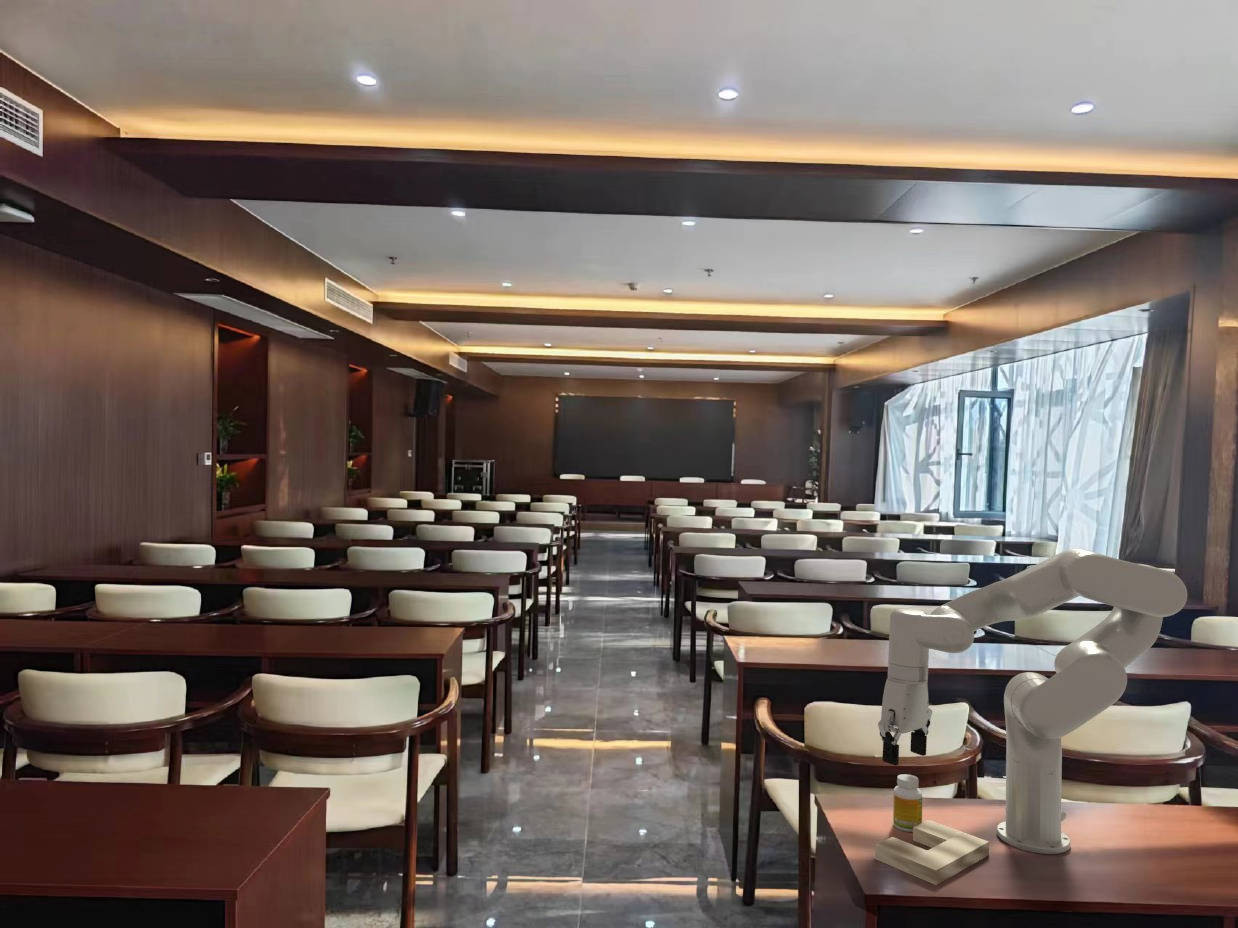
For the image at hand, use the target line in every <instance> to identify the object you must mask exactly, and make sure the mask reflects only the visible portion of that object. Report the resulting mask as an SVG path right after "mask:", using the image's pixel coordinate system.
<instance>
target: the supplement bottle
mask: <svg viewBox="0 0 1238 928" xmlns="http://www.w3.org/2000/svg"><path fill="white" fill-rule="evenodd" d="M896 779H897V780H896V783H897V785H896V786H895V787H894V788H893V800H892V801H893V804H892V805H893V811H892V813H893V814H892V824H893V826H894V827H895V828H896V829H897V830H900V831H902V832H906V833H907V832H908V833H913V827H914V826H916V825H919V824H921V823H923V793H922V790H921V789H920V788H919V778H918V777H917V776H916V775H912V774H906V773H905V774H898V775H897V778H896Z"/></svg>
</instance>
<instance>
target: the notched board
mask: <svg viewBox="0 0 1238 928" xmlns="http://www.w3.org/2000/svg"><path fill="white" fill-rule="evenodd" d="M912 841H914V842H916V843H918V844H921V845H923V846H926V847H928V848H929V849H928V850H927V849H924V848H922V847H919V846H917V845H914V844H911V843H909V842H907V841H904V840H902V839H900V838H897V837H894V836H891V837H889V838H886V839H885V840H883V841H880V842H878V843H877V844H875V845H874V860H877V861H879V862H880V863H881V862H882V863H883V864H886V865H887V866H888V865H889V866H890V867H893V868H895V869H898V870H900V871H902V872H904V873H906V874H909V875H911V876H913V877H916V878H919V879H920V880H923V881H925V882H928V883H930V884H932V885H935V886H937V885H939V884H941V883H942V882H945V881H946V880H948V879H949V878H951V877H954V876H956V874H958V873H960V872H962V871H963V870H965V869H967V868H969V867H971V866H972V865H974V864H976V863H978V862H979V860H980V861H982V860H983V859H985V858H987V857H989V856H990V841H989V840H986V839H983V838H980V837H977V836H975V835H972V834H969V833H966V832H965V831H961V830H958V829H956V828H953V827H950V826H947V825H944V824H941V823H939V822H936V821H933V820H930V819H927V820H925V821H922V823H921V824H919V825H916V826H914V827H913V832H912ZM988 855H989V856H988ZM986 856H987V857H986Z"/></svg>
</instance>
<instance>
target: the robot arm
mask: <svg viewBox="0 0 1238 928" xmlns="http://www.w3.org/2000/svg"><path fill="white" fill-rule="evenodd" d="M1078 597H1082V598H1084V599H1087V600H1090V601H1093V602H1097V603H1100V604H1104V605H1107V606H1112V607H1113V608H1112V609H1111V611H1110V613H1109V614H1108V615H1107V616H1106V617H1105V618H1104V619H1103V620H1102V621H1100V622H1099V623H1098V624H1097V625H1096V626H1094V627H1093V628H1091V629H1090V630H1088V631H1086V632H1085V633H1083V634H1082V635H1081V636H1079V637H1078V638H1077V639H1075V640H1073V641H1072V642H1071V643H1069V644H1067V645H1066V646H1064V647H1063V648H1062V649H1060V650H1059V652H1058V653H1057V654H1056V656H1055V658H1054V661H1053V663H1054V666H1053V667H1054V671H1055V672H1056V673H1055V674H1054V675H1051V677H1049V678H1048V677H1046V676H1045V675H1042V674H1040V673H1037V672H1033V671H1032V672H1031V671H1029V672H1028V671H1026V672H1022V673H1018V674H1017V675H1015V676H1013V677H1012V678H1011V679H1010V680H1009V682H1008V683H1007V684H1006V686H1005V690H1004V693H1003V694H1004V695H1003V706H1004V707H1003V708H1004V716H1005V717H1004V719H1005V737H1006V739H1005V740H1006V743H1005V744H1006V749H1005V751H1006V754H1005V820H1004V821H1002V822H1000V823H998V825H997V826H996V834H997V836H998V837H999V839H1001V841H1002V842H1004V843H1006V844H1008V845H1010V846H1012V847H1013V848H1017V849H1019V850H1023V851H1025V852H1030V853H1035V854H1037V853H1038V854H1042V855H1043V854H1045V855H1055V854H1056V855H1057V854H1062V853H1065V852H1067V851H1069V849H1070V848H1071V839H1070V837H1069V836H1068V835H1067V834H1066V833H1064V832H1063V831H1062V822H1063V821H1064V820H1066V818H1067V814H1066V811H1064V810H1062V775H1063V774H1062V768H1063V767H1062V763H1063V748H1062V747H1063V745H1062V738H1063V737H1065V736H1067V735H1069V734H1071V733H1073V732H1074V731H1075V730H1077V729H1079V728H1080V727H1081V726H1083V725H1085V724H1086V723H1087V722H1089V721H1090V720H1092V719H1094V718H1095V717H1097V716H1098V715H1100V714H1101V713H1102V712H1104V711H1106V710H1107V709H1109V708H1110V707H1111V706H1113V705H1114V704H1115V703H1117V702H1118V700H1119V699H1120V698H1121V697H1122V696H1123V694H1124V692H1125V690H1126V688H1127V684H1128V674H1127V671H1126V668H1127V667H1129V666H1130V665H1131V664H1133V662H1135V661H1136V660H1138V659H1139V658H1140V657H1141V656H1143V655H1144V654H1145V653H1147V652H1148V651H1149V650H1150V649H1151V647H1152V646H1153V645H1154V644H1155V642H1156V641H1157V639H1158V637H1159V635H1160V631H1161V630H1162V629H1161V628H1162V624H1163V619H1164V618H1165V617H1166V618H1167V617H1170V616H1174V615H1175V614H1177V613H1179V612H1180V611H1182V610H1183V608H1184V607H1185V606H1186V603H1187V601H1188V589H1187V586H1186V585H1185V582H1184V581H1182V579H1181V578H1180V577H1179V576H1177V574H1175V573H1173V572H1171V571H1169V570H1166V569H1162V568H1158V567H1155V566H1153V565H1149V564H1142V563H1135V562H1130V561H1127V560H1122V559H1119V558H1116V557H1115V558H1114V557H1112V556H1108V555H1105V554H1102V553H1098V552H1095V551H1093V550H1092V551H1091V550H1088V549H1085V548H1069V549H1066V550H1064V551H1061V552H1060V553H1057V554H1055V555H1053V556H1051V557H1049V558H1047V559H1045V560H1043V561H1041V562H1038V563H1037V564H1035V565H1032V566H1031V567H1029V568H1026V569H1024V570H1022V571H1020V572H1017V573H1015V574H1013V575H1012V576H1009V577H1007V578H1005V579H1002V580H999V581H996V582H993V583H991V584H988V585H986V586H984V587H980V588H978V589H974V590H972V591H969V592H967V593H964V594H963V595H960V596H958V597H957V598H953V600H950V601H948V602H946V603H943V604H942V605H939V606H938V607H936V608H935V609H933V610H932V611H931V612H930V614H928V612H926V611H924V610H920V609H914V608H895V609H893V610H892V611H891V613H890V616H889V632H888V633H889V635H888V636H889V637H888V661H887V663H888V664H887V667H888V668H887V678H886V680H885V681H886V682H885V685H884V688H883V689H884V690H883V695H882V704H881V714H880V720H879V721H878V723H877V726H878V731H879V736H880V737H881V741H882V761H883V762H884V763H886V764H890V765H893V766H898V765H899V757H900V744H898V742H899V739H900V737H901V735H902V734H907V733H909V732H910V752H911V753H913V754H915V755H918V756H919V755H920V756H922V757H925V756H926V755H927V741H928V740H927V739H928V737H927V736H928V735H929V727H930V726H931V719H932V716H933V709H931V708H929V688H928V687H929V686H928V683H929V682H928V680H929V679H928V678H929V660H930V659H929V657H930V655H929V654H930V650H932V651H933V650H934V651H938V652H943V653H948V654H960V653H963V652H965V651H967V650H968V649H970V648H971V646H972V645H973V643H974V640H975V633H974V632H976V631H978V630H980V629H982V628H985V627H988V626H990V625H993V624H998V623H1002V622H1009V621H1011V622H1012V621H1014V622H1016V621H1024V620H1030V619H1033V618H1034V619H1035V618H1036V617H1039V615H1042V614H1044V613H1046V612H1048V611H1050V610H1052V609H1055V608H1057V607H1059V606H1060V605H1063V604H1065V603H1067V602H1070V601H1072V600H1074V599H1076V598H1078ZM891 733H894V735H892V734H891Z"/></svg>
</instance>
